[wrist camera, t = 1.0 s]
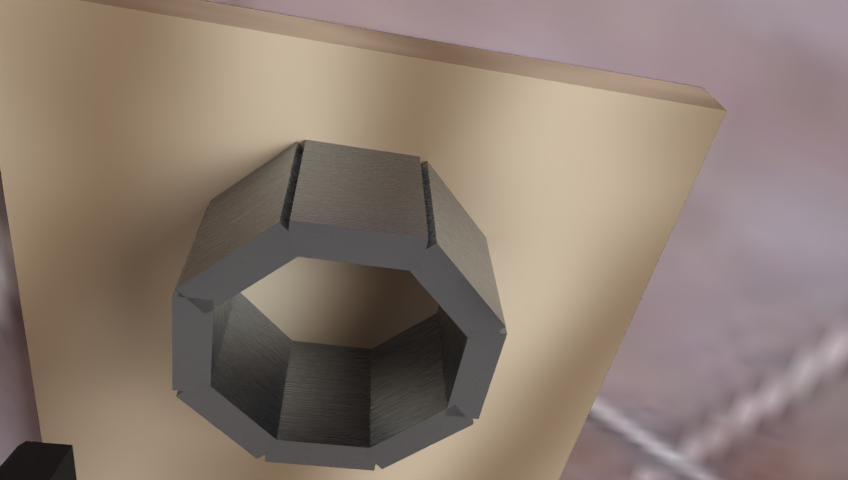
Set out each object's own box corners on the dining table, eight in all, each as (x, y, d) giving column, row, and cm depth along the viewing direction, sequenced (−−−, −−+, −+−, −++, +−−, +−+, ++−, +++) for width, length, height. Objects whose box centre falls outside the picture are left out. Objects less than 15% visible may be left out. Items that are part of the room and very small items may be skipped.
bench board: (704, 88, 15) (727, 110, 14) (471, 629, 27) (475, 662, 26) (3, -35, 13) (-28, -18, 12) (85, 610, 25) (73, 645, 24)
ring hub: (508, 170, 15) (534, 252, 12) (447, 378, 18) (458, 477, 15) (209, 125, 14) (171, 204, 11) (203, 353, 17) (172, 454, 14)
